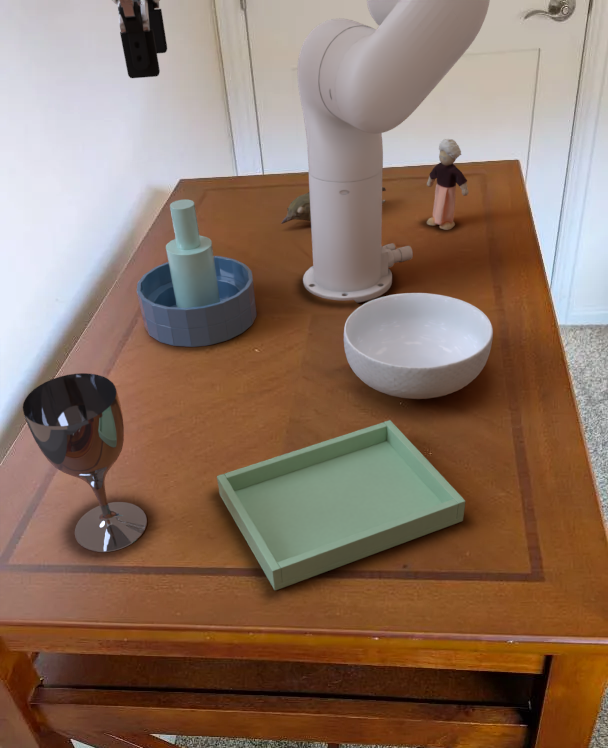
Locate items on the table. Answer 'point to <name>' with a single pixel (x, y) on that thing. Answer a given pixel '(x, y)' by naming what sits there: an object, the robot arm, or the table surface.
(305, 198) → the decorative bird model
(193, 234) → the bottle
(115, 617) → the table surface
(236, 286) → the bowl
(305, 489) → the tray
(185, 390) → the table surface
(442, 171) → the grandmother figurine
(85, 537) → the wine glass
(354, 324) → the cereal bowl
